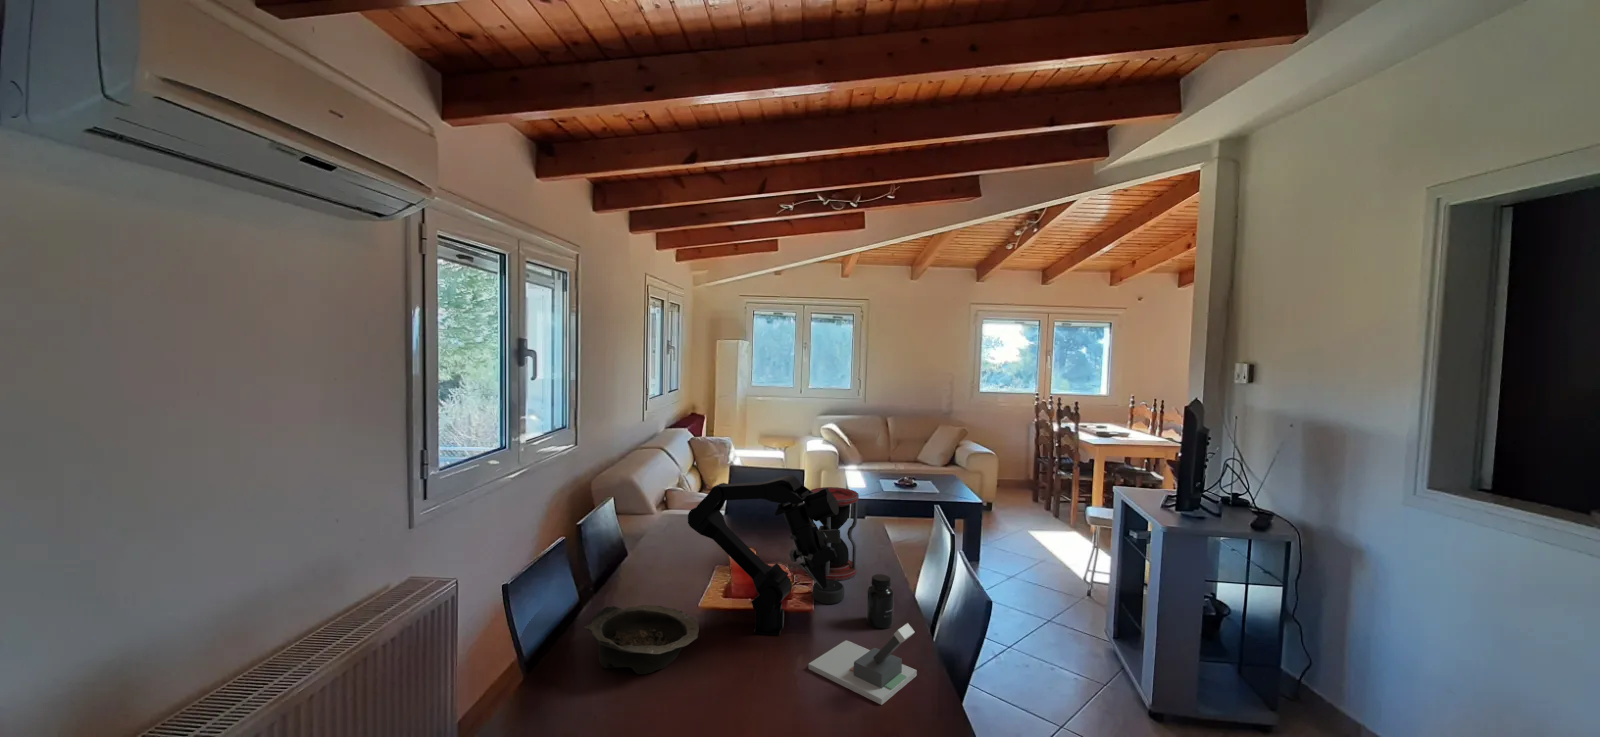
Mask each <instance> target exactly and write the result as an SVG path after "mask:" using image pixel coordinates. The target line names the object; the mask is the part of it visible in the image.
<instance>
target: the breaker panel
mask: <svg viewBox="0 0 1600 737" xmlns="http://www.w3.org/2000/svg"><path fill="white" fill-rule="evenodd" d="M880 650H881V649H880V648H877V647H873V648H871V649H868V648H865V647H864V646H861V645H859V644H856V643H855V642H851V641H850V640H844V641H842V642H841V643H839V644H838V645H836V646H835V647H832V648H831V649H830V650H828V651H826V652H825V653H823V654H822V655H820V656H819V657H817V658H815V659H814V660H812V661H811V662H809V663H808V670H810V671H811V672H813V673H816V674H818V675H820V676H821V677H824V678H826V679H828V680H829V681H832V682H833V683H836V684H838V685H840V686H842V687H844V688H846V689H849V690H851V691H852V692H854V693H856V694H858V695H861V696H862V697H865V698H867V699H868V700H870V701H873V702H875V703H876V704H879V705H881V706H882V705H883V704H885V703H886V702H887V701H888V700H889V699H891V698H892V697H893V696H895V695H896V694H897V692H899V691H900V690H901V689H903V688H904V687H905V686H906V685H908V683H910V682H911V681H912V680H913V679H914V678H916V677H917V675H918V673H917V672H918V671H917V669H915V668H912V667H910V666H907V665H906V664H903V658H902V657H899V656H897V655H894V654H892V653H891V654H890V655H889V656H888V657H887V658H886V659H884V660H883V661H882V662H880V663H879V664H877V662H876V661H875V659H874V658H873V657H874V656H875V655H876V654H877V653H878V652H879V651H880Z"/></svg>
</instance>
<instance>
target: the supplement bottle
mask: <svg viewBox="0 0 1600 737" xmlns="http://www.w3.org/2000/svg"><path fill="white" fill-rule="evenodd" d="M870 584H871V585H870V586H869V587H868V589H867V596H866V598H867V599H866V623H867V624H868V625H869V627H872V628H875V629H880V630H884V629H889V628H890V627H892V626H893V624H894V623H893V622H894V608H895V607H894V603H895V601H894V600H895V592H894V589H893V588H892V587H891V586H892V584H891V577H890V576H889V575H886V574H882V573H881V574H880V573H879V574H878V573H877V574H873V575H872V576H871V582H870Z"/></svg>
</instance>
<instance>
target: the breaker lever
mask: <svg viewBox="0 0 1600 737" xmlns="http://www.w3.org/2000/svg"><path fill="white" fill-rule="evenodd" d="M914 634H915V630H914V629H913V627H912V626H911V625H910V624H909V622H907V623H905V624H904V625H903V626H902V627H900V628H898V629H896V631H895V632H894V633H893V636H892V638H890V640H889V641H888V642H886V644H885V645H884V646H883V647H882V648H881V649H880V651H879V652H878V653H877V654H876V655H875V656H874V657H873V658H874V659H875V661H876V662H877V664H879V663H880V662H882V661H883V660H884V659H886V658H887V657H888V656H889V655H890V654H892V653H893V652H894V651H895V650H897V648H898V647H900V646H901V645H902V644H903V643H904V642H905V641H906V640H908V639H909V638H911V636H913V635H914Z"/></svg>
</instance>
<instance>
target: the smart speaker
mask: <svg viewBox="0 0 1600 737" xmlns="http://www.w3.org/2000/svg"><path fill="white" fill-rule="evenodd" d="M826 583H827V587H826V588H824V589H823V588H821V587H820V586H819V585H818V584H817V582H816V581H815V583H813V585H812V597H814V598H813V599H814V600H815V601H816V602H818V603H821V604H824V605H825V604H826V605H833V604H838V603H840V602H842V601H843V600H844V598H845V587H844V585H843V584H842V582H840V581H839V580H837V581H835V580H826Z"/></svg>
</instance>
